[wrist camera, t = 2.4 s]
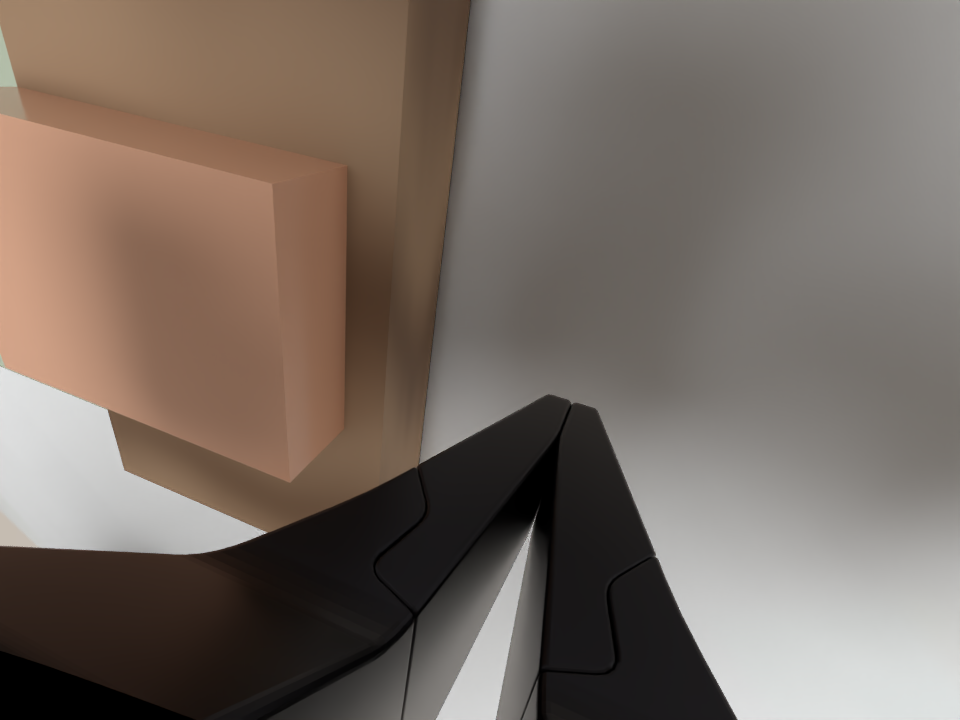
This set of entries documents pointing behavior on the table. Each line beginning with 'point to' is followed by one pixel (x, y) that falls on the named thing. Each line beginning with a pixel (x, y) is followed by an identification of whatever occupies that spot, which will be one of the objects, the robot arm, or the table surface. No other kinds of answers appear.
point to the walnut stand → (304, 130)
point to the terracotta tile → (175, 277)
